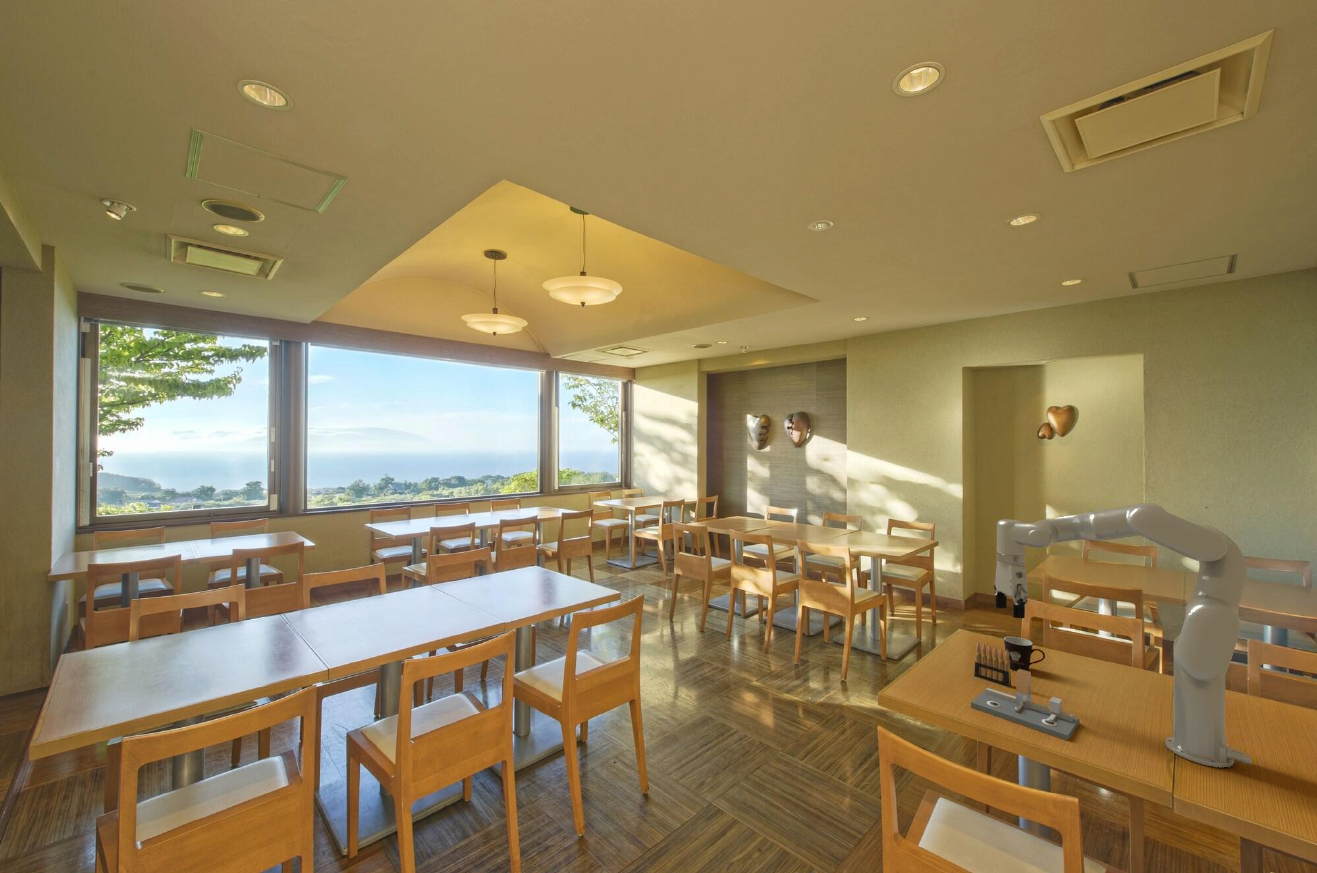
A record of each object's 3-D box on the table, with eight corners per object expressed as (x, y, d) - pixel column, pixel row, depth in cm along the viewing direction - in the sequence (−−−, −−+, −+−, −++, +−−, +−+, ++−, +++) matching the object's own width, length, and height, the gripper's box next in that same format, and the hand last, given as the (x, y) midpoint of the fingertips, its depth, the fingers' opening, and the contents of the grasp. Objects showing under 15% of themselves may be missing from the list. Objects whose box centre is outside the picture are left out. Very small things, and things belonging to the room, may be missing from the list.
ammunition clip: (1011, 685, 179) (1011, 649, 179) (1009, 687, 177) (1009, 651, 177) (976, 674, 187) (976, 640, 187) (974, 676, 186) (974, 641, 186)
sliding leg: (1030, 704, 162) (1031, 671, 162) (1022, 713, 156) (1022, 680, 156) (1019, 700, 164) (1019, 668, 165) (1010, 710, 159) (1010, 676, 159)
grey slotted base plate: (1079, 723, 155) (1079, 702, 155) (1067, 740, 145) (1067, 718, 145) (986, 693, 173) (986, 674, 173) (970, 707, 163) (971, 687, 163)
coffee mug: (998, 665, 195) (998, 637, 195) (1015, 662, 198) (1015, 635, 198) (1028, 678, 184) (1028, 649, 184) (1046, 675, 187) (1047, 647, 187)
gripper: (1040, 565, 161) (1039, 622, 161) (1007, 553, 178) (1006, 604, 178) (1014, 564, 161) (1013, 621, 161) (983, 552, 179) (982, 603, 178)
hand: (1009, 612), depth 170 cm, fingers open, 9 cm apart
